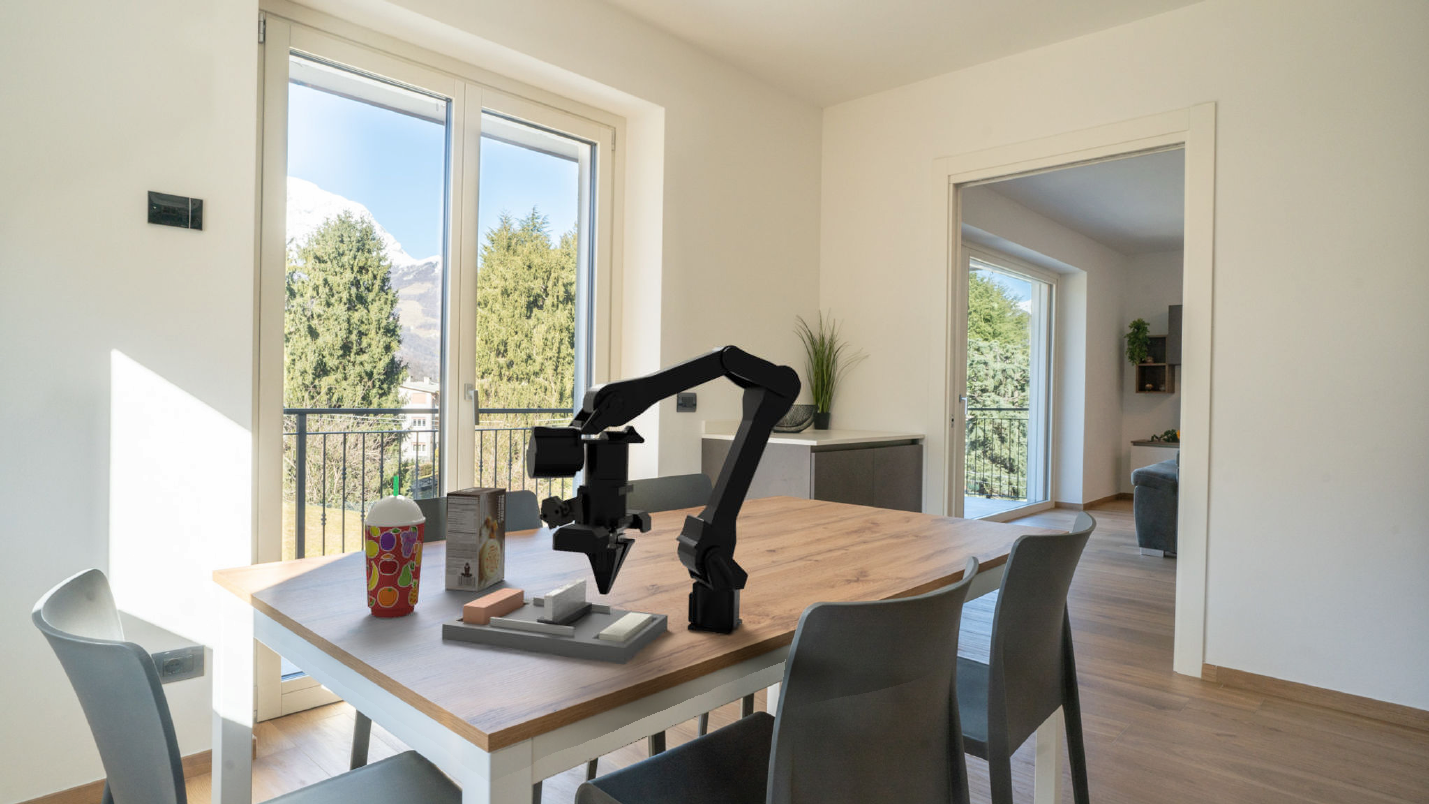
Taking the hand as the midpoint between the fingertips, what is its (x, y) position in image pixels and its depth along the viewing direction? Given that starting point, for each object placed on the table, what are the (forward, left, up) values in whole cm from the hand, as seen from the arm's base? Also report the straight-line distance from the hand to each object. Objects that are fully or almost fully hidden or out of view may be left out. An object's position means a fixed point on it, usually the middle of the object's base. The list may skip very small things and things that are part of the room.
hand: (604, 593), depth 101 cm
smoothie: (+34, 0, -6) cm, 34 cm away
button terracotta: (+17, 0, -5) cm, 17 cm away
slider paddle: (+6, 0, -4) cm, 7 cm away
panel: (+7, 0, -6) cm, 9 cm away
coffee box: (+33, -19, -6) cm, 38 cm away
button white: (-3, 0, -6) cm, 7 cm away
